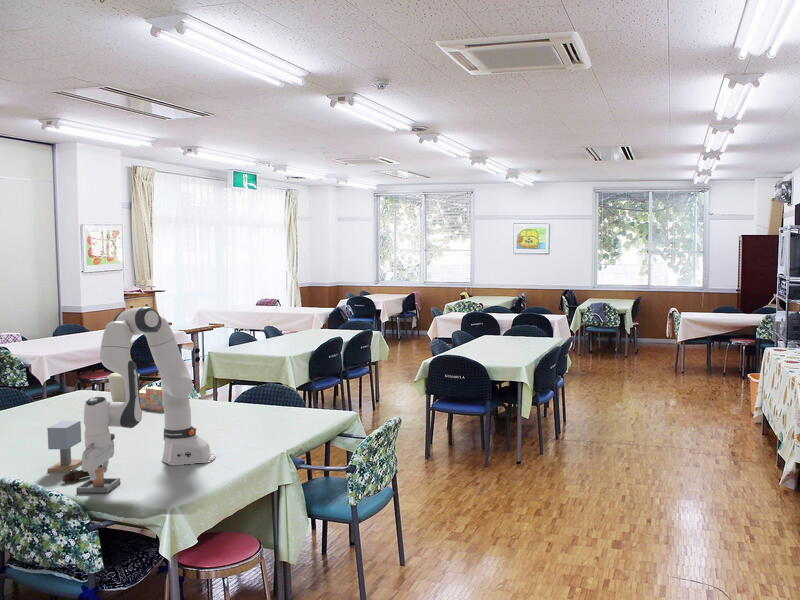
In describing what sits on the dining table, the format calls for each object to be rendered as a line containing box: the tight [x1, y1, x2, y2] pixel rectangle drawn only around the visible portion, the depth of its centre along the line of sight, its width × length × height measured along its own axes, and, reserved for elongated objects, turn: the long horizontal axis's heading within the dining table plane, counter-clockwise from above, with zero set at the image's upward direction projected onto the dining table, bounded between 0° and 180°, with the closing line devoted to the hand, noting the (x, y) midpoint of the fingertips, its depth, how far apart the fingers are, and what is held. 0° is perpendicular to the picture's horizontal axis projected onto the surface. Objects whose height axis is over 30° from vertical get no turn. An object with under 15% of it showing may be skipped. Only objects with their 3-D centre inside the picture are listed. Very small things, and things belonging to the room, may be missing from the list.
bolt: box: [61, 464, 102, 483], centre depth 287 cm, size 6×5×15 cm
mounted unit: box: [46, 420, 82, 473], centre depth 301 cm, size 10×13×18 cm
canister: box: [106, 372, 140, 402], centre depth 427 cm, size 18×18×21 cm
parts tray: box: [76, 477, 121, 495], centre depth 275 cm, size 12×12×2 cm
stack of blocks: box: [139, 386, 164, 412], centre depth 412 cm, size 21×6×12 cm, turn 63°
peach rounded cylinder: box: [93, 468, 105, 487], centre depth 275 cm, size 4×4×7 cm
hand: (99, 475), depth 275 cm, fingers open, 8 cm apart
